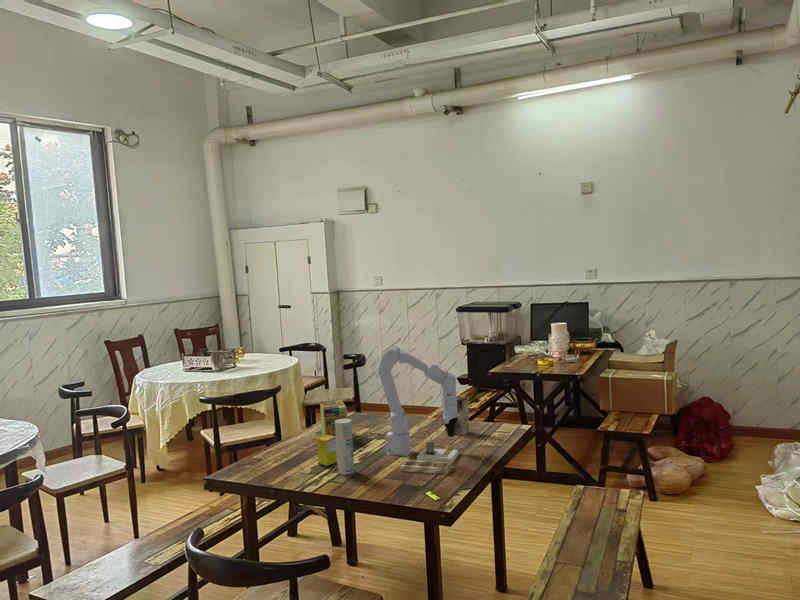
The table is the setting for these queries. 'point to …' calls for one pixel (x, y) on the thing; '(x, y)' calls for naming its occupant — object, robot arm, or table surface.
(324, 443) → the supplement box
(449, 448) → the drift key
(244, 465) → the table surface
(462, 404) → the coffee box
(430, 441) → the stepped metal cylinder
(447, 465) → the rack
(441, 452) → the socket block
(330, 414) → the protein box
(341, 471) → the spray can
